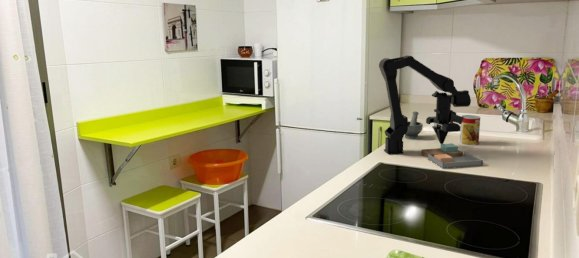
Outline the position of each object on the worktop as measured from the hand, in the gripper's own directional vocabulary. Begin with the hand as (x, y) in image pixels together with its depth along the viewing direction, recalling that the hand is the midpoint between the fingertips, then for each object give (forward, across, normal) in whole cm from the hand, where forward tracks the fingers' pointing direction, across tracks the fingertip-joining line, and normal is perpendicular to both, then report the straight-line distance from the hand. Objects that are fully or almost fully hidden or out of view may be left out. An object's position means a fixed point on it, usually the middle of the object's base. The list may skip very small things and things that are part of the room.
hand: (441, 143), depth 190 cm
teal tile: (+1, -6, 0) cm, 6 cm away
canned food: (+3, +8, -18) cm, 20 cm away
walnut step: (+3, -7, +4) cm, 8 cm away
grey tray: (+3, -17, +4) cm, 18 cm away
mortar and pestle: (+3, +24, +2) cm, 24 cm away
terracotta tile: (+2, -16, +7) cm, 17 cm away
